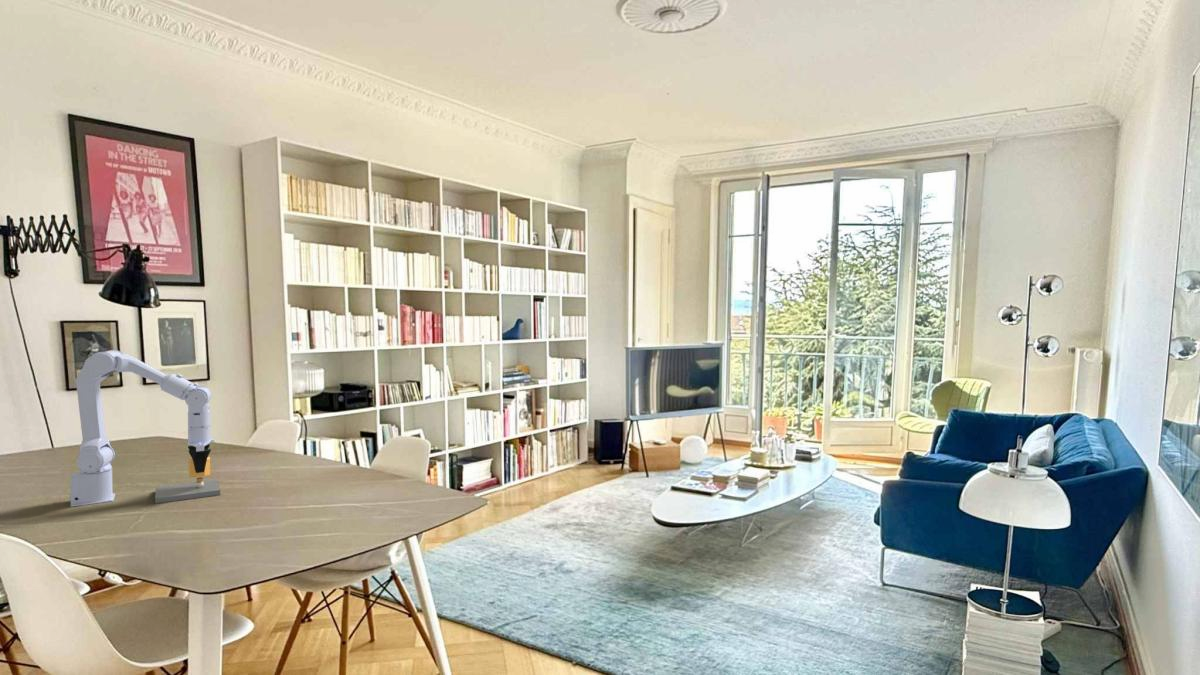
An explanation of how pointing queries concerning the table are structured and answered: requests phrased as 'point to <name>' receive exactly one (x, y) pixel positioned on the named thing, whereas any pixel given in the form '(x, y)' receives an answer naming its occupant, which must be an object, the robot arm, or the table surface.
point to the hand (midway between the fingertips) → (199, 470)
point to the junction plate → (187, 491)
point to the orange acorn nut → (207, 472)
